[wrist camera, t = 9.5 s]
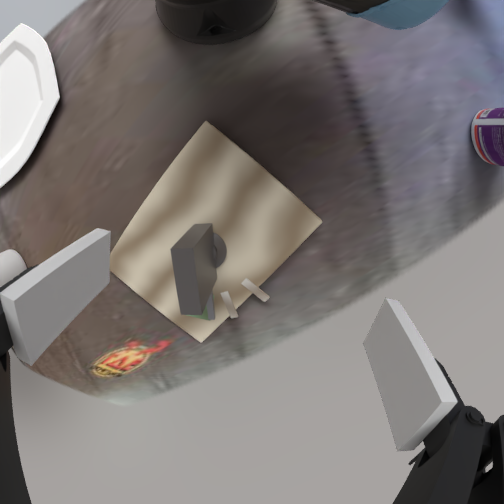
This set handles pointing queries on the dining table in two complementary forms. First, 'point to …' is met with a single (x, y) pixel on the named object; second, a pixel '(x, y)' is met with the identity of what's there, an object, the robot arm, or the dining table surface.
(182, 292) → the grey rectangular block
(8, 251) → the pill bottle
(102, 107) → the dining table surface
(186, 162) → the board
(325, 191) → the dining table surface
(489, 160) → the pill bottle
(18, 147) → the plate
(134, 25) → the dining table surface
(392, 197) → the dining table surface
